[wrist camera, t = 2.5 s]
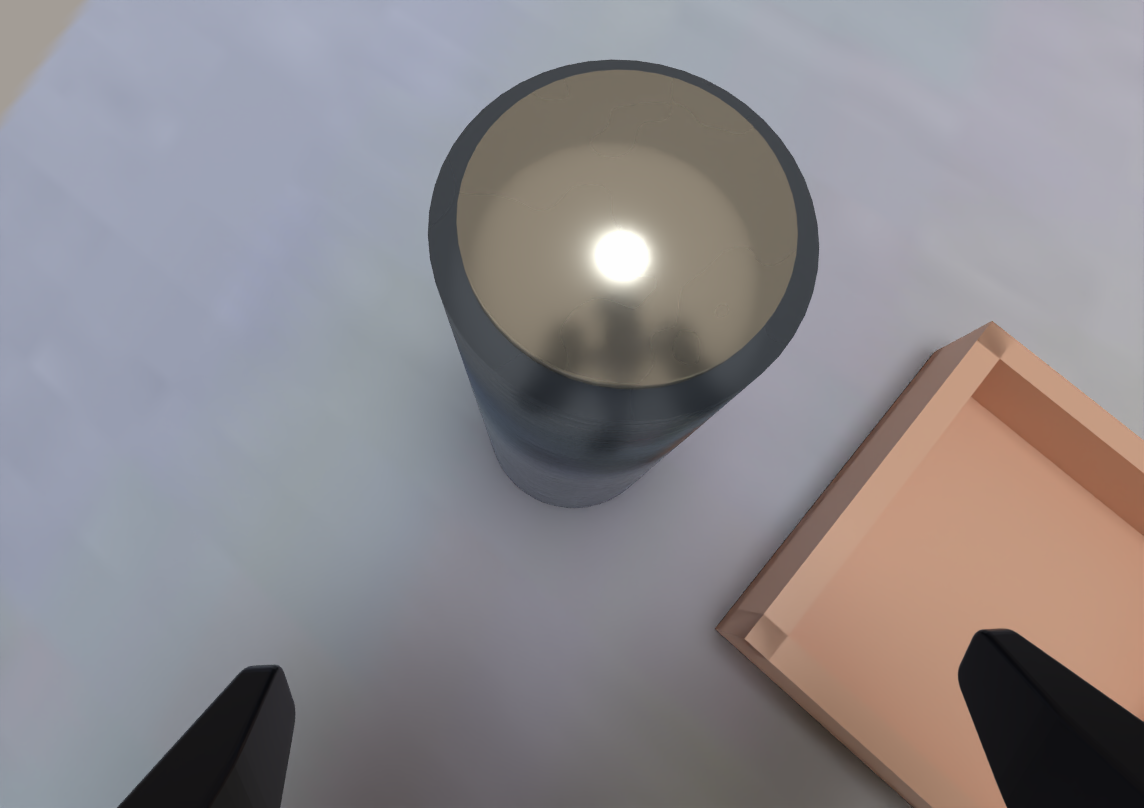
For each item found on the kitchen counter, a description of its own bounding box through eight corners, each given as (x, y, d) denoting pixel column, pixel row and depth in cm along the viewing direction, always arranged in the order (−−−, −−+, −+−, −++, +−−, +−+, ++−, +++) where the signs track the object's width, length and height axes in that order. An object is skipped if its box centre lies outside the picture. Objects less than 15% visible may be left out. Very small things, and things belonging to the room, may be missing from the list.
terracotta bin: (1037, 919, 19) (1126, 981, 16) (714, 628, 21) (744, 638, 18) (1235, 594, 22) (1343, 598, 19) (934, 352, 23) (992, 321, 20)
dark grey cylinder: (580, 543, 21) (653, 505, 8) (454, 429, 22) (337, 225, 9) (689, 418, 22) (905, 210, 9) (567, 313, 23) (609, -22, 10)
